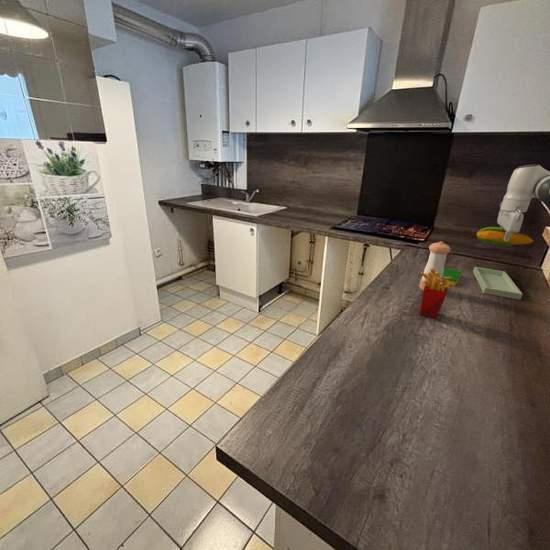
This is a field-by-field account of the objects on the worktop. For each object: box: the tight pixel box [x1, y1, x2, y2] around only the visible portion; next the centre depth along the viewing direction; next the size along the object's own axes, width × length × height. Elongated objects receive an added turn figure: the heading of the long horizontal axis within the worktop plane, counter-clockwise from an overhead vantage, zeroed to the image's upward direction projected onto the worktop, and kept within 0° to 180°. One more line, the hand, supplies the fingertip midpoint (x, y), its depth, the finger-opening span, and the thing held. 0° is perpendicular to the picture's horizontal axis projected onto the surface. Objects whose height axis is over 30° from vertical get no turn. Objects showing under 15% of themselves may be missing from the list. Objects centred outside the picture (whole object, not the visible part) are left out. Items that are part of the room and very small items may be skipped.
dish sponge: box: [441, 267, 463, 287], centre depth 123 cm, size 7×14×2 cm, turn 141°
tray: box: [472, 266, 523, 300], centre depth 119 cm, size 25×12×2 cm, turn 156°
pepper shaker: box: [418, 241, 451, 291], centre depth 110 cm, size 7×7×19 cm
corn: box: [476, 226, 534, 247], centre depth 125 cm, size 7×8×20 cm
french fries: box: [419, 268, 451, 320], centre depth 93 cm, size 9×8×15 cm
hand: (503, 238), depth 126 cm, fingers closed on corn, 7 cm apart
